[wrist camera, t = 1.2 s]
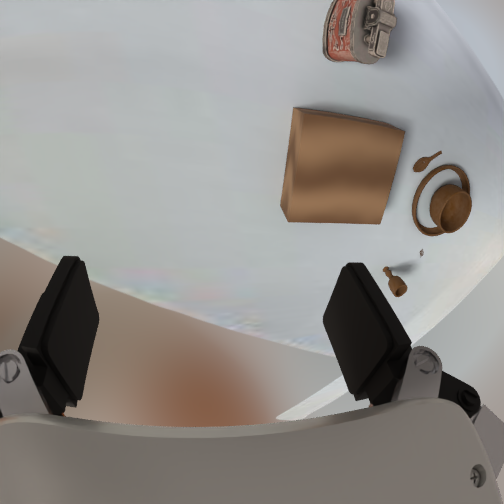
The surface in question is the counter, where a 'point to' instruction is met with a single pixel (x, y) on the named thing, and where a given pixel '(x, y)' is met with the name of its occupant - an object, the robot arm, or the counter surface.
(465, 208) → the place setting
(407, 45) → the counter surface
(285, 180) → the walnut base
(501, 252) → the counter surface
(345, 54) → the lighter
